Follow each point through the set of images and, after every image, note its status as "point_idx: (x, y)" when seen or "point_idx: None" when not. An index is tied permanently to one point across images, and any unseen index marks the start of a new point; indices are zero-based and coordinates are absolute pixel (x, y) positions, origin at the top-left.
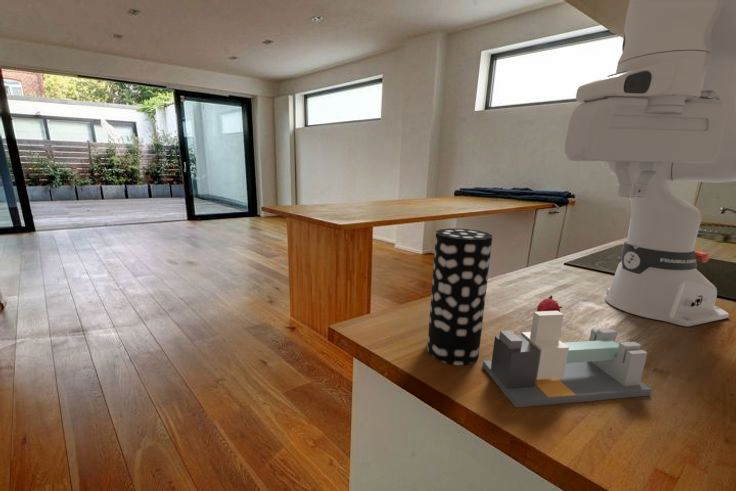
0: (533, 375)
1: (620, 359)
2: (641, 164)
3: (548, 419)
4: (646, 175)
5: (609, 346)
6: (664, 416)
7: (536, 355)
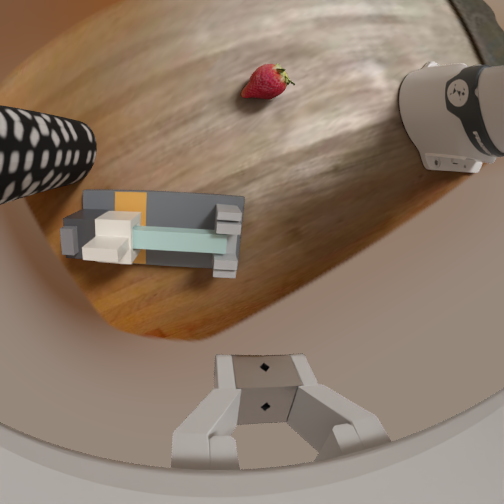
0: None
1: (213, 258)
2: (338, 456)
3: (109, 275)
4: (321, 430)
5: (207, 250)
6: (220, 291)
7: None
